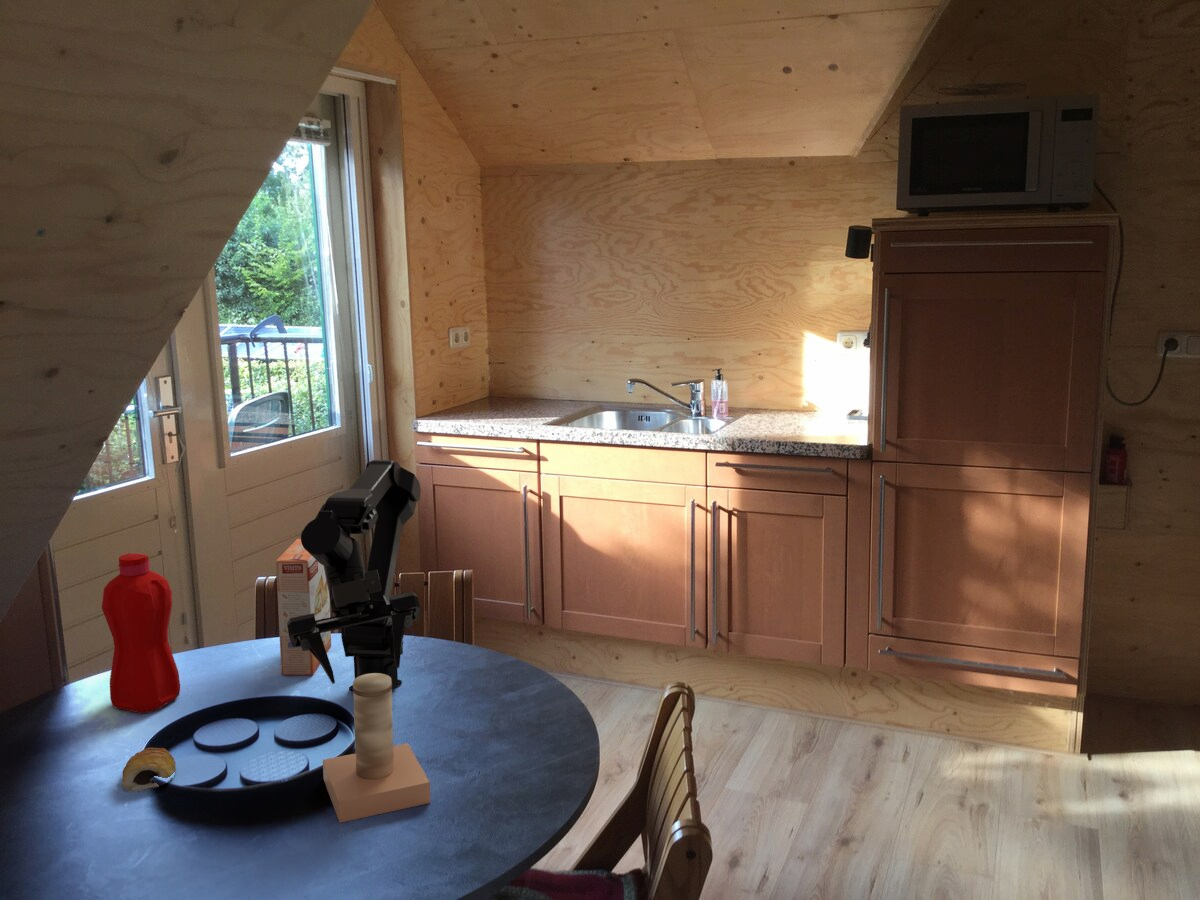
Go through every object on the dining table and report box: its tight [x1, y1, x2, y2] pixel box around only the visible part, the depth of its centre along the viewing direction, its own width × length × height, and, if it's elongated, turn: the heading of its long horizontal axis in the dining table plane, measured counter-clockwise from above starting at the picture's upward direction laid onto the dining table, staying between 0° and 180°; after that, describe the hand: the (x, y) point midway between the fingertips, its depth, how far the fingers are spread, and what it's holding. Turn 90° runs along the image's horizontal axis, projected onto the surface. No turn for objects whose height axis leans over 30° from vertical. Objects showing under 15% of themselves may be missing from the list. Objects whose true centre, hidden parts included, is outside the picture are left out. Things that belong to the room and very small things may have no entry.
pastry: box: [121, 747, 177, 792], centre depth 146 cm, size 9×7×4 cm
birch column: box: [352, 673, 394, 780], centre depth 140 cm, size 5×5×13 cm
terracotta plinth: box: [322, 742, 431, 824], centre depth 142 cm, size 12×12×3 cm
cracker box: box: [275, 538, 332, 676], centre depth 184 cm, size 14×6×21 cm, turn 1°
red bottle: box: [101, 552, 181, 714], centre depth 168 cm, size 9×11×25 cm
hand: (366, 675), depth 149 cm, fingers open, 9 cm apart
